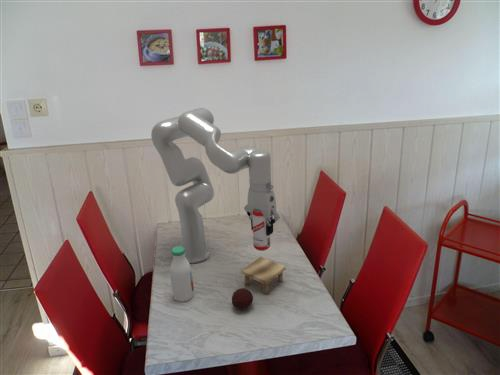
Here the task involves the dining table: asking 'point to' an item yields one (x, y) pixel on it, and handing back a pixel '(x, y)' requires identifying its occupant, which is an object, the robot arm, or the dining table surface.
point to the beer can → (260, 231)
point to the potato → (242, 298)
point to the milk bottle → (181, 275)
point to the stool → (263, 272)
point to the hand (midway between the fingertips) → (262, 231)
